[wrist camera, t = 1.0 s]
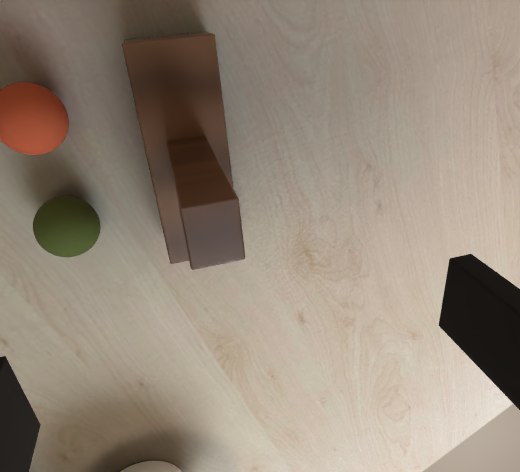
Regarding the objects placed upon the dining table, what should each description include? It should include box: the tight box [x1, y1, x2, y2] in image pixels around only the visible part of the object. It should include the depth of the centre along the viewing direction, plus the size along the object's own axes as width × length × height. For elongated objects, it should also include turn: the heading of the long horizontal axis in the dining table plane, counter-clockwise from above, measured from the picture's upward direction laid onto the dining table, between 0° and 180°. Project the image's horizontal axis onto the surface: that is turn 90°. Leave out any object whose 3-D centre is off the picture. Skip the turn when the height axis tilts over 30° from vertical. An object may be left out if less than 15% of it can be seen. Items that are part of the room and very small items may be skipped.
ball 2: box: [33, 196, 100, 257], centre depth 27 cm, size 4×4×4 cm
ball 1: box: [0, 82, 69, 155], centre depth 24 cm, size 4×4×4 cm
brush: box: [122, 32, 245, 270], centre depth 23 cm, size 14×5×14 cm, turn 5°
